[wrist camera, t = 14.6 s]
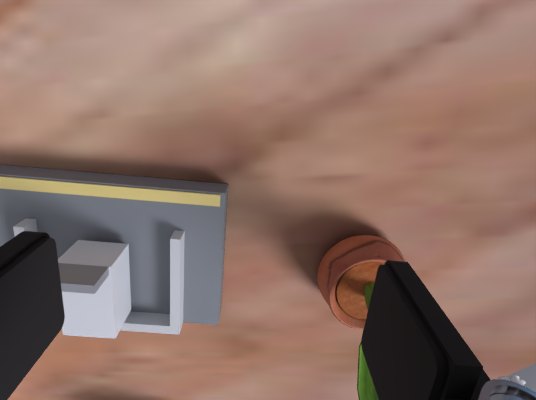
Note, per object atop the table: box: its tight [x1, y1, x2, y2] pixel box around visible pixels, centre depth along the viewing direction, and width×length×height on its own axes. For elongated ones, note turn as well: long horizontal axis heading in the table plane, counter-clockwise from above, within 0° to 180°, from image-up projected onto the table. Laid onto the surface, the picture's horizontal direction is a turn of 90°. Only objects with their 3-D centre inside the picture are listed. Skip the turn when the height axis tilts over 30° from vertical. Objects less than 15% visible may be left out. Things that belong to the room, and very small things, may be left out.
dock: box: [0, 165, 228, 334], centre depth 39 cm, size 16×24×5 cm, turn 85°
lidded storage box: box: [58, 240, 131, 338], centre depth 35 cm, size 8×5×8 cm, turn 175°
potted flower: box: [317, 235, 526, 400], centre depth 31 cm, size 12×10×25 cm
